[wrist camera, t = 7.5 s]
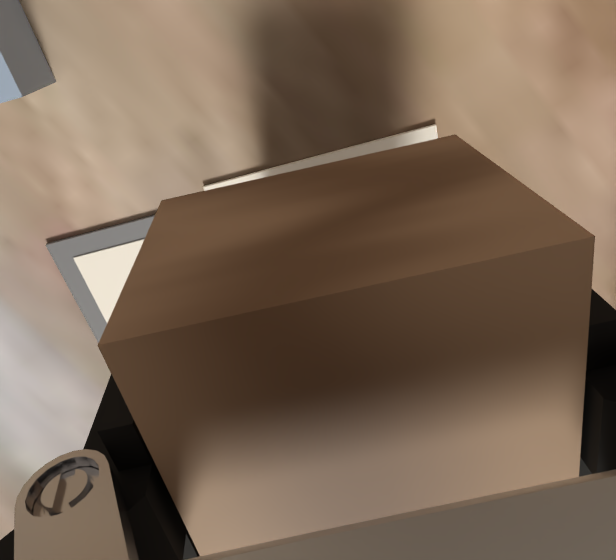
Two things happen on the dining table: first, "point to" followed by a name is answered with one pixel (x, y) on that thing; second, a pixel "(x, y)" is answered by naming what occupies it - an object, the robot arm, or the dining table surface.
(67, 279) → the gray bordered square plate
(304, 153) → the dining table surface
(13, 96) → the slate cube
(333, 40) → the dining table surface
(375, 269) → the walnut block
